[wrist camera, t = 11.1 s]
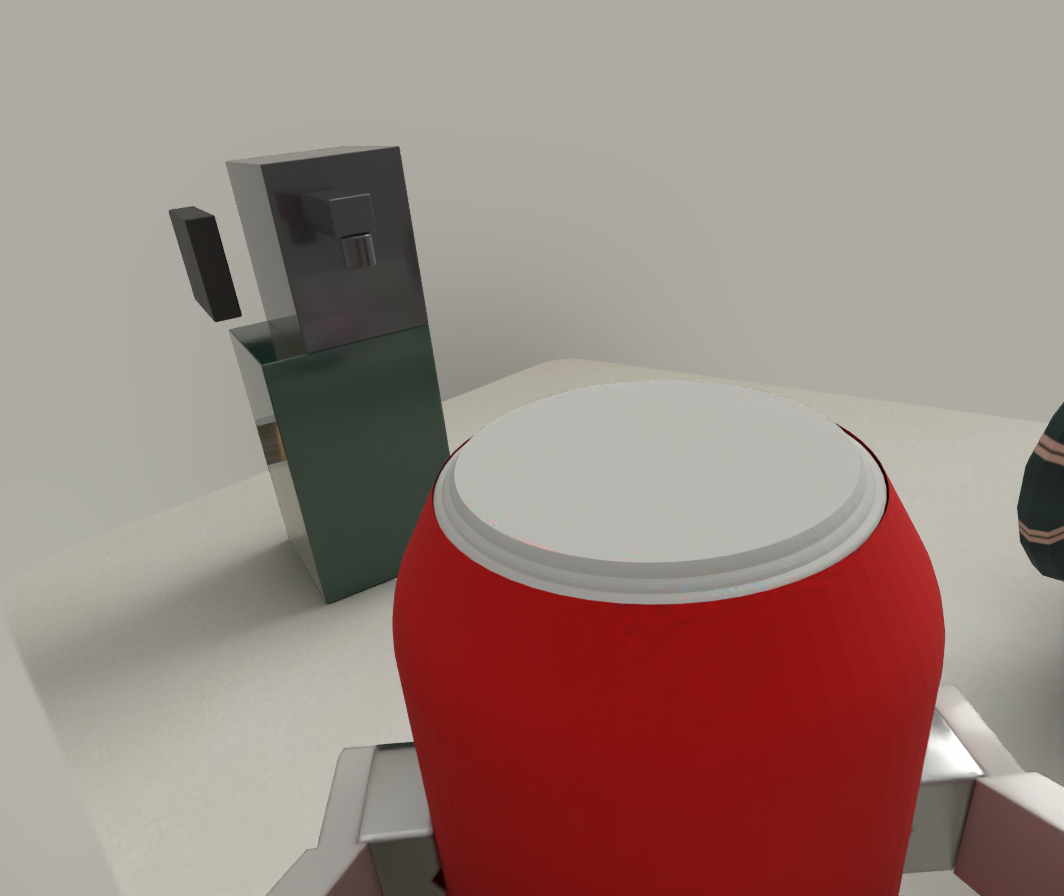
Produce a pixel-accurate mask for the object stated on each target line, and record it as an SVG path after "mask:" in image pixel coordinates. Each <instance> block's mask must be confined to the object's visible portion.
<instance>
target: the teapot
mask: <svg viewBox="0 0 1064 896" xmlns="http://www.w3.org/2000/svg"><path fill="white" fill-rule="evenodd" d="M1017 511H1018V522H1019V533H1020V542H1021V544H1022V546H1023V548H1024V550H1025V552H1026V554H1027V555H1028V557H1029V559H1030V561H1031V563H1032V564H1033V565H1034V567H1035V568H1036V569H1037V570H1038V571H1039V572H1040V573H1041V574H1042V575H1043V576H1047V577H1050V578H1054V579H1057V580H1061V581H1064V402H1063V404H1062V405H1061V406H1060V407H1059V409H1058V410H1057V411H1056V413H1055V414H1054V415H1053V417H1052V419H1051V421H1050V422H1049V424H1048V426H1047V428H1046V429H1045V431H1044V433H1043V435H1042V437H1041V438H1040V440H1039V442H1038V444H1037V446H1036V447H1035V449H1034V451H1033V453H1032V454H1031V456H1030V458H1029V460H1028V462H1027V464H1026V467H1025V472H1024V477H1023V482H1022V487H1021V491H1020V496H1019V501H1018V506H1017Z"/></svg>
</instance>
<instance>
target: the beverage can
mask: <svg viewBox="0 0 1064 896" xmlns="http://www.w3.org/2000/svg"><path fill="white" fill-rule="evenodd" d="M393 640H394V651H395V658H396V662H397V667H398V671H399V676H400V680H401V685H402V689H403V694H404V699H405V703H406V708H407V712H408V717H409V721H410V726H411V730H412V735H413V739H414V744H415V749H416V753H417V758H418V762H419V767H420V771H421V776H422V780H423V785H424V789H425V794H426V799H427V803H428V808H429V812H430V817H431V821H432V825H433V830H434V834H435V839H436V843H437V848H438V852H439V857H440V861H441V867H442V871H443V876H444V880H445V884H446V889H447V893H448V896H898V894H899V889H900V884H901V879H902V874H903V869H904V864H905V858H906V853H907V848H908V843H909V838H910V833H911V828H912V823H913V818H914V812H915V807H916V802H917V797H918V792H919V787H920V782H921V777H922V771H923V766H924V761H925V756H926V751H927V746H928V741H929V736H930V730H931V725H932V720H933V715H934V710H935V705H936V700H937V695H938V689H939V684H940V679H941V674H942V668H943V658H944V646H945V627H944V618H943V609H942V600H941V595H940V590H939V586H938V583H937V579H936V576H935V573H934V569H933V566H932V563H931V560H930V557H929V555H928V553H927V551H926V549H925V547H924V545H923V543H922V541H921V539H920V537H919V535H918V533H917V531H916V529H915V527H914V525H913V523H912V521H911V519H910V518H909V516H908V514H907V512H906V510H905V508H904V506H903V504H902V502H901V501H900V499H899V497H898V495H897V493H896V491H895V489H894V487H893V485H892V483H891V482H890V480H889V478H888V476H887V474H886V472H885V470H884V468H883V466H882V465H881V463H880V461H879V460H878V459H877V457H876V456H875V454H874V453H873V452H872V451H871V450H870V449H869V448H868V447H867V446H866V445H865V444H864V443H863V442H862V441H861V440H860V439H858V438H857V437H856V436H854V435H853V434H852V433H851V432H849V431H847V430H846V429H844V428H843V427H841V426H839V425H838V424H836V423H834V422H832V421H831V420H830V419H828V418H827V417H825V416H824V415H822V414H820V413H819V412H817V411H815V410H813V409H811V408H809V407H807V406H805V405H803V404H800V403H798V402H796V401H793V400H790V399H788V398H785V397H782V396H779V395H776V394H772V393H769V392H765V391H761V390H757V389H752V388H748V387H743V386H737V385H731V384H724V383H717V382H707V381H695V380H637V381H625V382H615V383H607V384H600V385H594V386H588V387H582V388H578V389H573V390H569V391H565V392H561V393H557V394H553V395H550V396H547V397H544V398H541V399H538V400H535V401H532V402H530V403H527V404H524V405H522V406H520V407H518V408H515V409H513V410H511V411H509V412H507V413H505V414H503V415H501V416H500V417H498V418H496V419H495V420H493V421H491V422H490V423H489V424H487V425H486V426H485V427H483V428H482V429H480V430H479V431H478V432H477V433H476V434H475V435H474V436H472V437H471V438H470V439H468V440H467V441H466V442H464V443H463V444H462V445H461V446H460V447H459V448H458V449H457V450H455V451H454V452H453V454H452V455H451V456H450V457H449V458H448V459H447V460H446V462H445V463H444V465H443V466H442V468H441V469H440V471H439V473H438V475H437V478H436V480H435V482H434V484H433V487H432V489H431V491H430V494H429V496H428V499H427V501H426V503H425V506H424V508H423V510H422V513H421V515H420V517H419V520H418V522H417V524H416V527H415V529H414V531H413V534H412V536H411V538H410V541H409V543H408V546H407V548H406V550H405V553H404V556H403V559H402V562H401V566H400V570H399V574H398V578H397V582H396V588H395V596H394V606H393Z"/></svg>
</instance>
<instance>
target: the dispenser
mask: <svg viewBox="0 0 1064 896" xmlns="http://www.w3.org/2000/svg"><path fill="white" fill-rule="evenodd" d="M226 166H227V170H228V174H229V177H230V181H231V185H232V188H233V193H234V196H235V200H236V204H237V208H238V212H239V216H240V219H241V223H242V227H243V231H244V235H245V238H246V242H247V246H248V250H249V254H250V258H251V261H252V265H253V269H254V273H255V277H256V280H257V284H258V288H259V292H260V296H261V299H262V303H263V307H264V311H265V314H266V319H267V321H265V322H260V323H256V324H252V325H247V326H243V327H238V328H234V329H230V330H229V333H230V336H231V340H232V343H233V347H234V350H235V354H236V357H237V360H238V363H239V367H240V371H241V374H242V378H243V381H244V385H245V388H246V392H247V395H248V399H249V402H250V406H251V409H252V413H253V416H254V420H255V423H256V427H257V430H258V434H259V437H260V441H261V444H262V447H263V451H264V455H265V458H266V461H267V465H268V468H269V472H270V475H271V479H272V482H273V486H274V489H275V493H276V496H277V500H278V503H279V507H280V510H281V514H282V517H283V521H284V524H285V528H286V531H287V535H288V538H289V540H290V542H291V543H292V545H293V547H294V549H295V550H296V552H297V554H298V555H299V557H300V559H301V561H302V562H303V564H304V566H305V568H306V569H307V571H308V573H309V575H310V576H311V578H312V580H313V582H314V583H315V585H316V587H317V589H318V590H319V592H320V594H321V595H322V597H323V599H324V601H325V602H326V604H329V603H332V602H334V601H337V600H339V599H342V598H344V597H347V596H349V595H352V594H354V593H357V592H359V591H362V590H364V589H367V588H369V587H372V586H374V585H377V584H379V583H382V582H384V581H387V580H389V579H392V578H394V577H397V576H398V574H399V570H400V566H401V562H402V559H403V556H404V553H405V550H406V548H407V546H408V543H409V541H410V538H411V536H412V534H413V531H414V529H415V527H416V524H417V522H418V520H419V517H420V515H421V513H422V510H423V508H424V506H425V503H426V501H427V499H428V496H429V494H430V491H431V489H432V487H433V484H434V482H435V480H436V478H437V475H438V473H439V471H440V469H441V468H442V466H443V465H444V463H445V462H446V460H447V459H448V458H449V457H450V452H449V446H448V440H447V434H446V428H445V422H444V416H443V410H442V404H441V398H440V392H439V386H438V380H437V373H436V368H435V362H434V356H433V349H432V343H431V337H430V331H429V325H428V318H427V312H426V306H425V300H424V294H423V288H422V282H421V276H420V269H419V264H418V257H417V251H416V245H415V239H414V233H413V227H412V221H411V215H410V209H409V203H408V197H407V191H406V184H405V178H404V172H403V167H402V160H401V154H400V148H399V146H342V147H334V148H326V149H318V150H311V151H303V152H295V153H287V154H280V155H271V156H263V157H256V158H248V159H240V160H232V161H226Z"/></svg>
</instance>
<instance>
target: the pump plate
mask: <svg viewBox="0 0 1064 896" xmlns="http://www.w3.org/2000/svg"><path fill="white" fill-rule="evenodd" d="M169 215H170V218H171V221H172V224H173V228H174V231H175V234H176V237H177V241H178V244H179V248H180V251H181V254H182V258H183V261H184V264H185V267H186V271H187V274H188V277H189V280H190V284H191V287H192V291H193V294H194V297H195V299H196V300H197V302H198V303H199V304H200V305H201V306H202V308H203V309H204V310H205V311H206V312H207V313H208V315H209V316H210V317H211V318H212V319H213V320H214V321H215V322H219V321H223V320H228V319H232V318H237V317H241V316H242V314H241V310H240V307H239V303H238V300H237V296H236V292H235V288H234V285H233V281H232V278H231V274H230V270H229V267H228V263H227V260H226V257H225V253H224V249H223V245H222V242H221V238H220V234H219V231H218V227H217V223H216V220H215V217H214V216H213V215H211V214H209V213H207V212H205V211H202V210H200V209H198V208H196V207H193V206H192V207H185V208H179V209H172V210H169Z"/></svg>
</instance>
